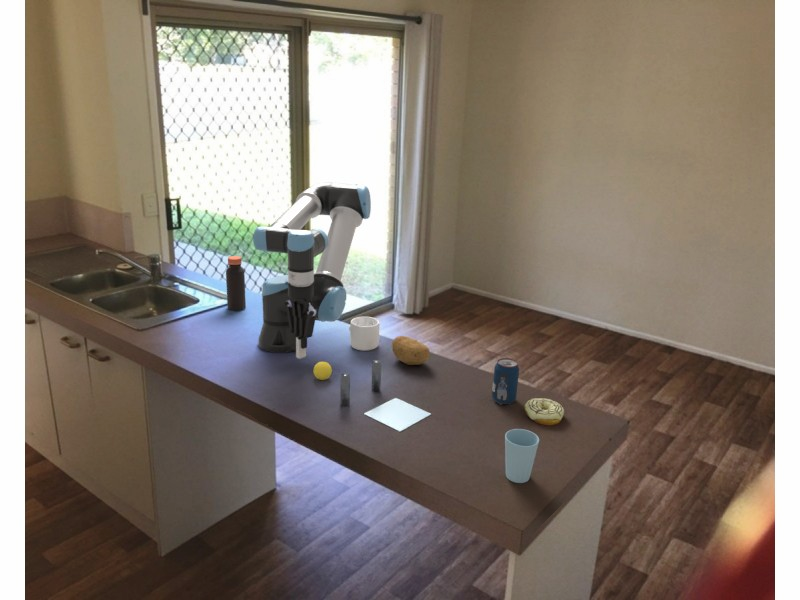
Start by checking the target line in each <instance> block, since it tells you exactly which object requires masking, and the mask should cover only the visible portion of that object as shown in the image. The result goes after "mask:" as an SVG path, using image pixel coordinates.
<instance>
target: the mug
mask: <svg viewBox="0 0 800 600" xmlns="http://www.w3.org/2000/svg"><path fill="white" fill-rule="evenodd" d="M380 324H381V323H380V321H379V319H378V318H375V317H371V316H357V317H354V318H352V319H351V320H350V325H349V327H348V330H349V338H350V339H349V341H350V342H349V343H350V344H349V345H350V346H351V347H352V348H353V349H355V350H358V351H363V352H365V351H366V352H367V351H372V350H375V349H376V348H377V347H379V344H380Z"/></svg>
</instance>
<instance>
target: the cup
mask: <svg viewBox="0 0 800 600" xmlns="http://www.w3.org/2000/svg"><path fill="white" fill-rule="evenodd" d="M539 444H540V438H539V436H538V435H537V434H536V433H534V432H533V431H531V430H528V429H523V428H513V429H510V430H508V431H506V433H505V434H504V445H505V446H504V447H505V448H504V449H505V453H504V454H505V455H504V456H505V457H504V458H505V459H504V461H505V476H506V478H507V479H508V480H509V481H511V482H513V483H516V484H524V483H526V482H528V481H529V480H530V478H531V473H532V471H533V466H534V462H535V459H536V455H537V450H538V447H539Z"/></svg>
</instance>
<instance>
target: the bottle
mask: <svg viewBox="0 0 800 600" xmlns="http://www.w3.org/2000/svg"><path fill="white" fill-rule="evenodd" d="M227 265H228V267H227V269H226V271H225V277H226V278H225V281H226V284H225V285H226V298H227V299H226V300H227V301H226V303H227V309H228V310H229V311H234V312H236V311H237V312H239V311H243V310H244V309H246V307H247V306H246V305H247V304H246V303H247V302H246V279H245V278H246V277H245V269H244V268H243V267H242V266H241V265H242V257H241V256H239V255H231V256H228V257H227Z"/></svg>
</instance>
